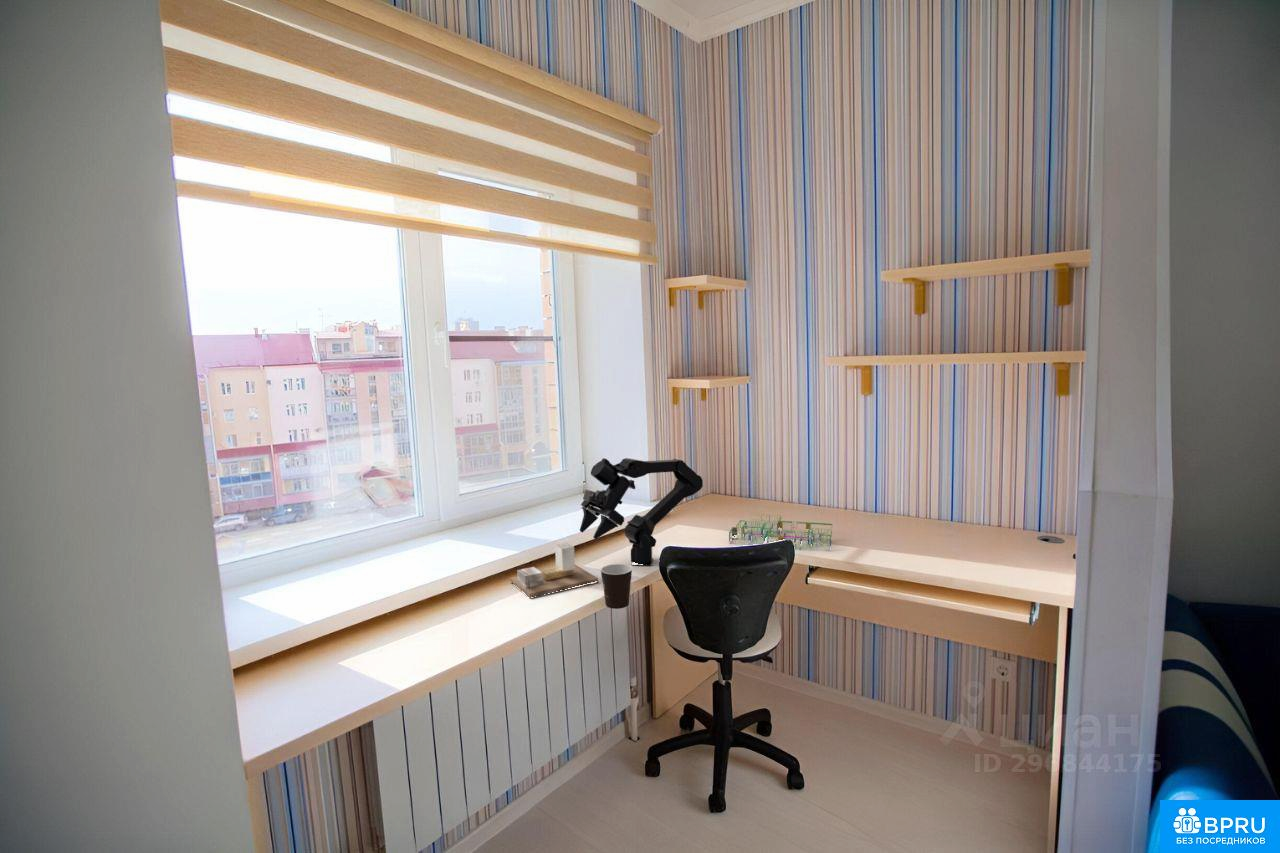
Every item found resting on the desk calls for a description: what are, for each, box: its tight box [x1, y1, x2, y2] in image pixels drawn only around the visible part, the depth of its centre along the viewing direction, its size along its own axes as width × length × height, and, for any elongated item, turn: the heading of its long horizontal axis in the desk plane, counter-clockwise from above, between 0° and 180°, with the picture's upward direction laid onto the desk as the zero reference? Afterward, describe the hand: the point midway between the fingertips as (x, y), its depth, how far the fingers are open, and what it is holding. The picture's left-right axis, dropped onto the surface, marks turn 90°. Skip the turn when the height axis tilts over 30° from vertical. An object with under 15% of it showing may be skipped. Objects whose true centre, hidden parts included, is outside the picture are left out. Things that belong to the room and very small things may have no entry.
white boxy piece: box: [541, 542, 576, 580], centre depth 193 cm, size 9×5×9 cm, turn 122°
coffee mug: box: [600, 563, 633, 610], centre depth 176 cm, size 12×9×10 cm
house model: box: [728, 513, 833, 547], centre depth 237 cm, size 35×30×5 cm
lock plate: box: [509, 564, 599, 599], centre depth 193 cm, size 22×16×5 cm
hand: (587, 535), depth 198 cm, fingers open, 9 cm apart
